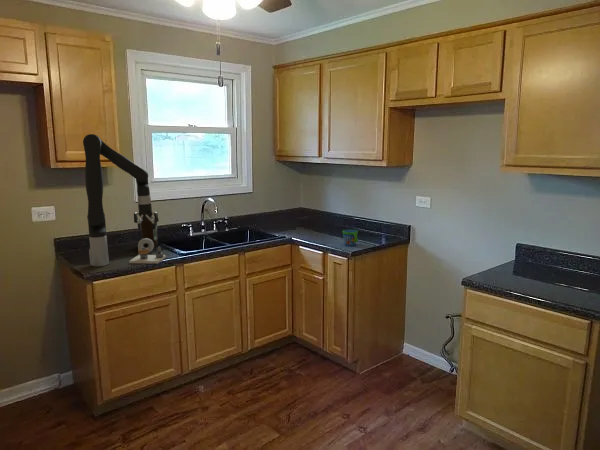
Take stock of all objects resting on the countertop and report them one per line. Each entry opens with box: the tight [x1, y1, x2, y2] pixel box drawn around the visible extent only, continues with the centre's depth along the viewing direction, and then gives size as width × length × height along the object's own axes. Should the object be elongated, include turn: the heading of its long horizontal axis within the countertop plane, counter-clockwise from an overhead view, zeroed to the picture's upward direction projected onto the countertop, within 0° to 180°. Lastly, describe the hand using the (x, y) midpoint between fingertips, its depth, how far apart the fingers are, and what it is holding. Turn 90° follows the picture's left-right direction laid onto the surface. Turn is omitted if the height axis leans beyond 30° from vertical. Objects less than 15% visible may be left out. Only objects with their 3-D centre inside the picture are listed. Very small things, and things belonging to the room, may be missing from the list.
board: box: [129, 254, 167, 265], centre depth 272 cm, size 17×14×2 cm
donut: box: [137, 238, 155, 253], centre depth 288 cm, size 10×4×10 cm, turn 113°
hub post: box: [155, 246, 164, 258], centre depth 273 cm, size 4×4×6 cm
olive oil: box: [141, 218, 158, 248], centre depth 307 cm, size 11×11×25 cm
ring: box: [137, 247, 150, 255], centre depth 270 cm, size 6×6×2 cm
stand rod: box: [139, 246, 149, 259], centre depth 270 cm, size 4×4×6 cm
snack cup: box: [342, 229, 359, 247], centre depth 309 cm, size 16×10×10 cm
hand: (147, 229), depth 269 cm, fingers open, 8 cm apart
